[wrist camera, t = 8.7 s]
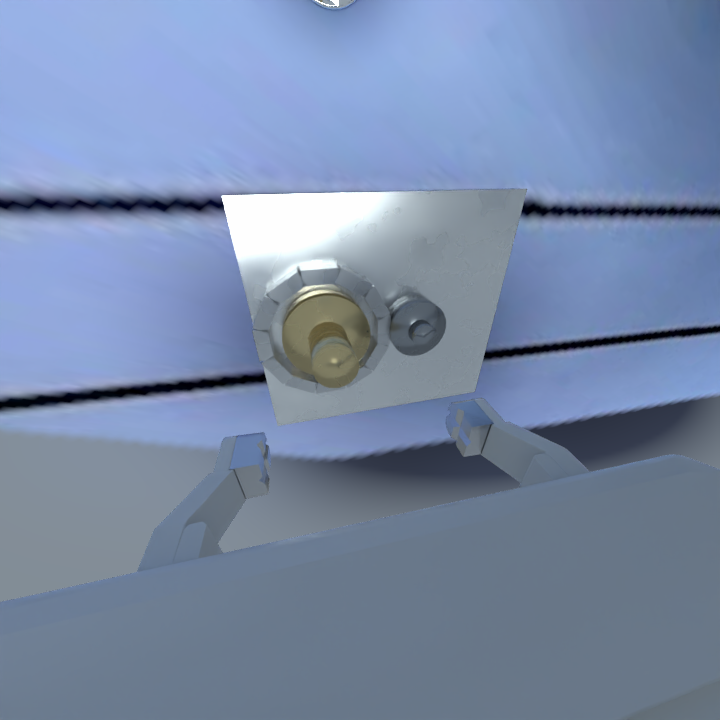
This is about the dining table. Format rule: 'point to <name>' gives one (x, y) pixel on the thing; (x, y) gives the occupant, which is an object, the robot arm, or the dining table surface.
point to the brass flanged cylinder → (326, 336)
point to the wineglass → (334, 3)
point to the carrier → (377, 287)
